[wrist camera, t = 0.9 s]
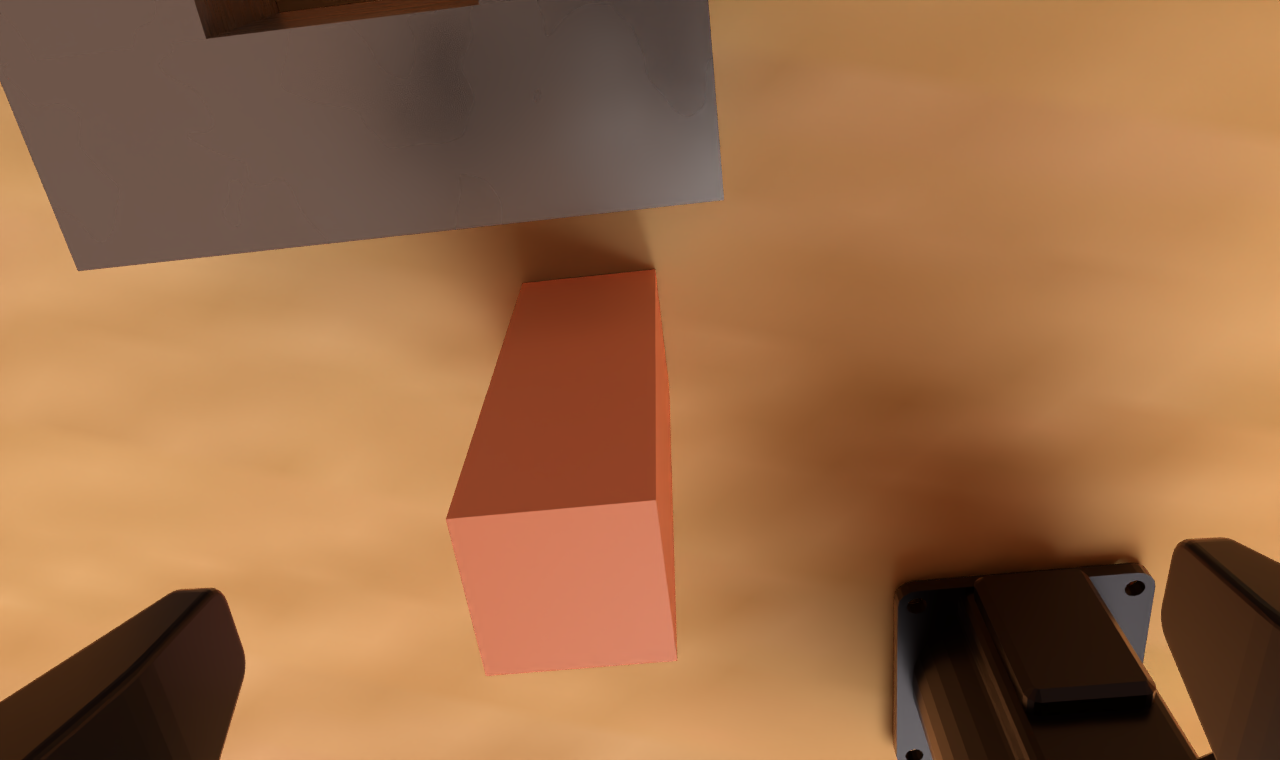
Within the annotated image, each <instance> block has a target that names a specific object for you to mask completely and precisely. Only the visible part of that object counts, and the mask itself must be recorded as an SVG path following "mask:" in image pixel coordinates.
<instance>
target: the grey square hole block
mask: <svg viewBox="0 0 1280 760" xmlns="http://www.w3.org/2000/svg"><path fill="white" fill-rule="evenodd" d="M0 82H1V84H2V86H3V89H4V91H5V94H6V96H7V99H8V101H9V104H10V106H11V108H12V111H13V113H14V116H15V118H16V121H17V123H18V126H19V128H20V130H21V133H22V135H23V138H24V140H25V143H26V145H27V148H28V150H29V152H30V155H31V157H32V160H33V162H34V165H35V167H36V169H37V172H38V174H39V177H40V179H41V182H42V184H43V187H44V189H45V191H46V194H47V196H48V199H49V201H50V204H51V206H52V209H53V211H54V213H55V216H56V218H57V221H58V223H59V226H60V228H61V231H62V233H63V235H64V238H65V240H66V243H67V245H68V248H69V250H70V253H71V255H72V257H73V260H74V262H75V265H76V267H77V270H78V271H83V270H92V269H101V268H110V267H119V266H128V265H138V264H147V263H156V262H165V261H174V260H183V259H192V258H201V257H210V256H219V255H229V254H238V253H247V252H256V251H265V250H274V249H283V248H292V247H301V246H310V245H319V244H329V243H338V242H347V241H356V240H365V239H374V238H383V237H392V236H401V235H410V234H420V233H429V232H438V231H447V230H456V229H465V228H474V227H483V226H492V225H501V224H510V223H520V222H529V221H538V220H547V219H556V218H565V217H574V216H583V215H592V214H601V213H611V212H620V211H629V210H638V209H647V208H656V207H665V206H674V205H683V204H692V203H701V202H711V201H720V200H724V193H723V181H722V168H721V156H720V143H719V130H718V118H717V105H716V93H715V80H714V68H713V55H712V43H711V30H710V17H709V5H708V0H376V1H368V2H360V3H352V4H344V5H337V6H329V7H321V8H313V9H305V10H297V11H289V12H281V13H279V11H278V7H277V4H276V0H0Z"/></svg>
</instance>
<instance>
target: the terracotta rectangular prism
mask: <svg viewBox="0 0 1280 760" xmlns="http://www.w3.org/2000/svg"><path fill="white" fill-rule="evenodd" d="M446 521H447V525H448V529H449V533H450V537H451V541H452V545H453V549H454V553H455V557H456V560H457V564H458V568H459V572H460V576H461V580H462V584H463V588H464V592H465V596H466V600H467V604H468V607H469V611H470V615H471V619H472V623H473V627H474V631H475V635H476V639H477V643H478V647H479V651H480V654H481V658H482V662H483V666H484V670H485V674H486V676H491V675H504V674H516V673H529V672H542V671H554V670H567V669H579V668H592V667H605V666H617V665H630V664H643V663H655V662H668V661H677V637H676V603H675V570H674V536H673V502H672V468H671V434H670V401H669V382H668V374H667V365H666V357H665V348H664V340H663V331H662V323H661V314H660V306H659V297H658V288H657V280H656V271H655V269H652V270H643V271H633V272H624V273H614V274H605V275H595V276H586V277H576V278H567V279H558V280H548V281H539V282H529V283H522V286H521V289H520V292H519V296H518V299H517V302H516V305H515V308H514V311H513V314H512V317H511V320H510V323H509V326H508V329H507V333H506V336H505V339H504V342H503V345H502V348H501V351H500V354H499V357H498V360H497V363H496V366H495V369H494V373H493V376H492V379H491V382H490V385H489V388H488V391H487V394H486V397H485V400H484V403H483V406H482V410H481V413H480V416H479V419H478V422H477V425H476V428H475V431H474V434H473V437H472V440H471V443H470V447H469V450H468V453H467V456H466V459H465V462H464V465H463V468H462V471H461V474H460V477H459V480H458V484H457V487H456V490H455V493H454V496H453V499H452V502H451V505H450V508H449V511H448V514H447V517H446Z"/></svg>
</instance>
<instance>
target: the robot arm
mask: <svg viewBox="0 0 1280 760" xmlns="http://www.w3.org/2000/svg"><path fill="white" fill-rule="evenodd" d="M1136 580H1137V582H1135V583H1134V584H1133V585H1130V586H1126V585H1127V584H1129V583H1130V582H1132V581H1136ZM1154 591H1155V581H1154V579H1153V578H1152V577H1151V575H1150V574H1149V572H1148V571H1147V570H1146V568H1145V567H1144V566H1142V565H1140V564H1138V563H1124V564H1112V565H1100V566H1088V567H1076V568H1064V569H1052V570H1040V571H1028V572H1016V573H1004V574H992V575H980V576H968V577H956V578H944V579H932V580H920V581H912V582H907V583H905V584H903V585H902V586H900V587H899V588H898V590H897V591H896V593H895V596H894V749H895V753H896V756H897V760H1280V563H1278V562H1276V561H1274V560H1272V559H1270V558H1268V557H1266V556H1264V555H1262V554H1260V553H1258V552H1256V551H1254V550H1252V549H1250V548H1248V547H1246V546H1244V545H1242V544H1240V543H1238V542H1236V541H1234V540H1232V539H1229V538H1200V539H1186V540H1183V541H1181V542H1180V543H1179V544H1177V546H1176V548H1175V549H1174V552H1173V555H1172V560H1171V565H1170V569H1169V574H1168V579H1167V584H1166V589H1165V594H1164V598H1163V603H1162V609H1161V622H1162V628H1163V632H1164V635H1165V638H1166V641H1167V643H1168V646H1169V648H1170V650H1171V653H1172V655H1173V658H1174V660H1175V662H1176V665H1177V667H1178V670H1179V672H1180V674H1181V677H1182V679H1183V682H1184V684H1185V686H1186V689H1187V691H1188V694H1189V696H1190V698H1191V701H1192V703H1193V706H1194V708H1195V710H1196V713H1197V715H1198V718H1199V720H1200V722H1201V725H1202V727H1203V730H1204V732H1205V734H1206V737H1207V739H1208V742H1209V744H1210V746H1211V749H1212V751H1213V752H1211V753H1209V754H1206V755H1204V756H1202V757H1198V755H1197V754H1196V752H1195V750H1194V749H1193V747H1192V746H1191V744H1190V742H1189V741H1188V739H1187V737H1186V736H1185V734H1184V733H1183V731H1182V729H1181V728H1180V726H1179V725H1178V723H1177V721H1176V720H1175V718H1174V716H1173V715H1172V713H1171V712H1170V710H1169V708H1168V707H1167V705H1166V704H1165V702H1164V700H1163V699H1162V697H1161V695H1160V694H1159V692H1158V691H1157V689H1156V686H1155V683H1154V681H1153V680H1152V678H1151V676H1150V675H1149V673H1148V671H1147V670H1146V668H1145V667H1144V665H1143V659H1144V653H1145V646H1146V640H1147V634H1148V628H1149V622H1150V616H1151V609H1152V603H1153V597H1154ZM917 598H919V599H922V600H920V601H919V602H917V603H914V604H912V603H909V602H910V601H911V600H913V599H917ZM244 674H245V654H244V650H243V647H242V644H241V641H240V638H239V635H238V632H237V629H236V626H235V623H234V620H233V618H232V615H231V612H230V609H229V606H228V603H227V600H226V598H225V596H224V595H223V594H222V593H221V591H219V590H217V589H215V588H197V589H181V590H176V591H173V592H171V593H169V594H168V595H166V596H165V597H163V598H162V599H160V600H158V601H157V602H155V603H154V604H152V605H151V606H149V607H148V608H146V609H144V610H143V611H141V612H140V613H138V614H137V615H135V616H134V617H132V618H130V619H129V620H127V621H126V622H124V623H123V624H121V625H120V626H118V627H116V628H115V629H113V630H112V631H110V632H109V633H107V634H106V635H104V636H102V637H101V638H99V639H98V640H96V641H95V642H93V643H91V644H90V645H88V646H87V647H85V648H84V649H82V650H81V651H79V652H77V653H76V654H74V655H73V656H71V657H70V658H68V659H67V660H65V661H63V662H62V663H60V664H59V665H57V666H56V667H54V668H53V669H51V670H49V671H48V672H46V673H45V674H43V675H42V676H40V677H39V678H37V679H35V680H34V681H32V682H31V683H29V684H28V685H26V686H25V687H23V688H21V689H20V690H18V691H17V692H15V693H14V694H12V695H11V696H9V697H7V698H6V699H4V700H3V701H1V702H0V760H220V757H221V754H222V750H223V747H224V743H225V740H226V737H227V733H228V730H229V726H230V723H231V720H232V716H233V713H234V710H235V706H236V703H237V699H238V696H239V693H240V689H241V686H242V682H243V679H244ZM913 749H916V750H913ZM910 750H912V751H910Z"/></svg>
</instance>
